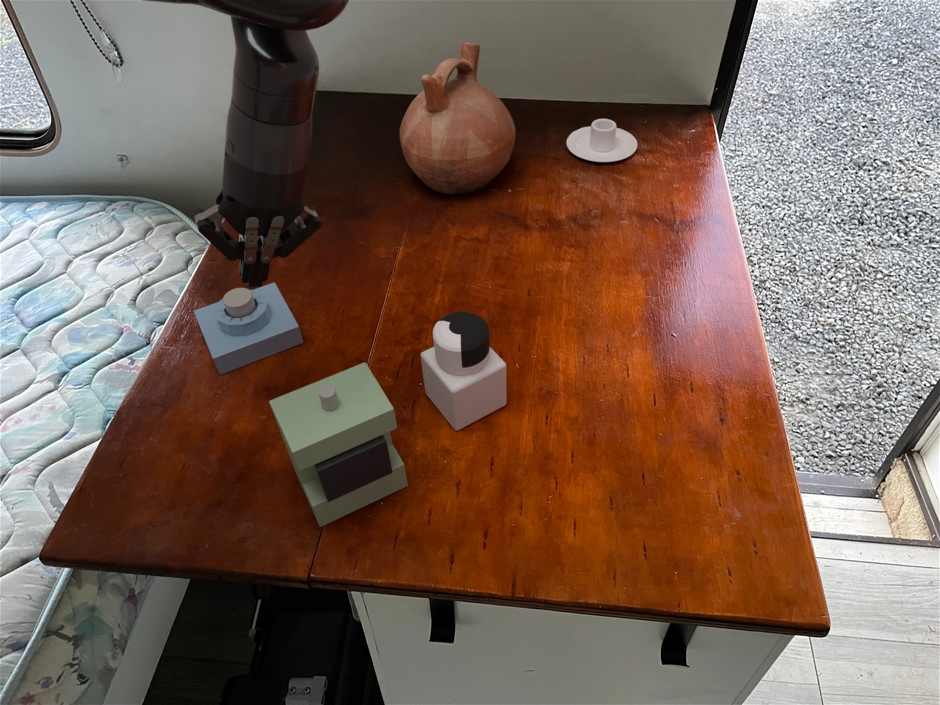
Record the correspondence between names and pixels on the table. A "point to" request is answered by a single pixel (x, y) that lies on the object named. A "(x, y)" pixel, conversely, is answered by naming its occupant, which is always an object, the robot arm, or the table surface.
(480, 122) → the jug
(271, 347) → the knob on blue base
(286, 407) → the green block with peg
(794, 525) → the table surface
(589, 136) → the candle holder
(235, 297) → the short grey cylinder plug
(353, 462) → the paddle
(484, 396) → the medicine bottle
